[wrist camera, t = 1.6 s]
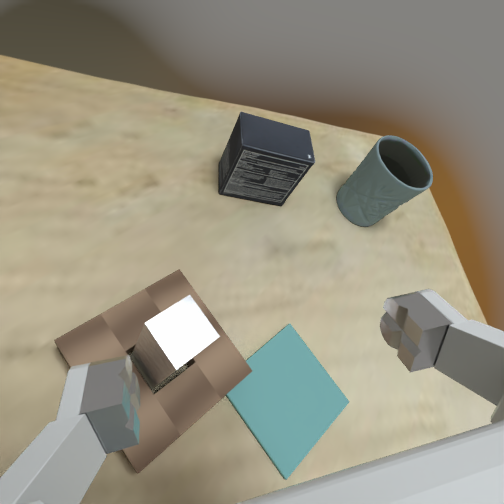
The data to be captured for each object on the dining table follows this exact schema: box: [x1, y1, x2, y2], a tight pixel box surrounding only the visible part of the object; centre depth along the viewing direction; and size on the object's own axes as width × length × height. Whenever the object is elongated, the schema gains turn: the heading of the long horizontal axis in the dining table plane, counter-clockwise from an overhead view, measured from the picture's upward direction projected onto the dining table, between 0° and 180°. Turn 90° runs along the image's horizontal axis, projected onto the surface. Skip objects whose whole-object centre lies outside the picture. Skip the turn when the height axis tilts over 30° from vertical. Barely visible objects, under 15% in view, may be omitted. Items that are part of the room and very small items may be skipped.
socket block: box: [54, 269, 252, 473], centre depth 35 cm, size 14×14×3 cm
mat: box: [226, 324, 349, 480], centre depth 40 cm, size 12×12×1 cm
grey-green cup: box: [337, 136, 433, 227], centre depth 55 cm, size 10×10×12 cm
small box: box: [219, 112, 315, 206], centre depth 49 cm, size 11×6×10 cm, turn 93°
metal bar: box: [131, 295, 220, 390], centre depth 31 cm, size 4×4×14 cm
